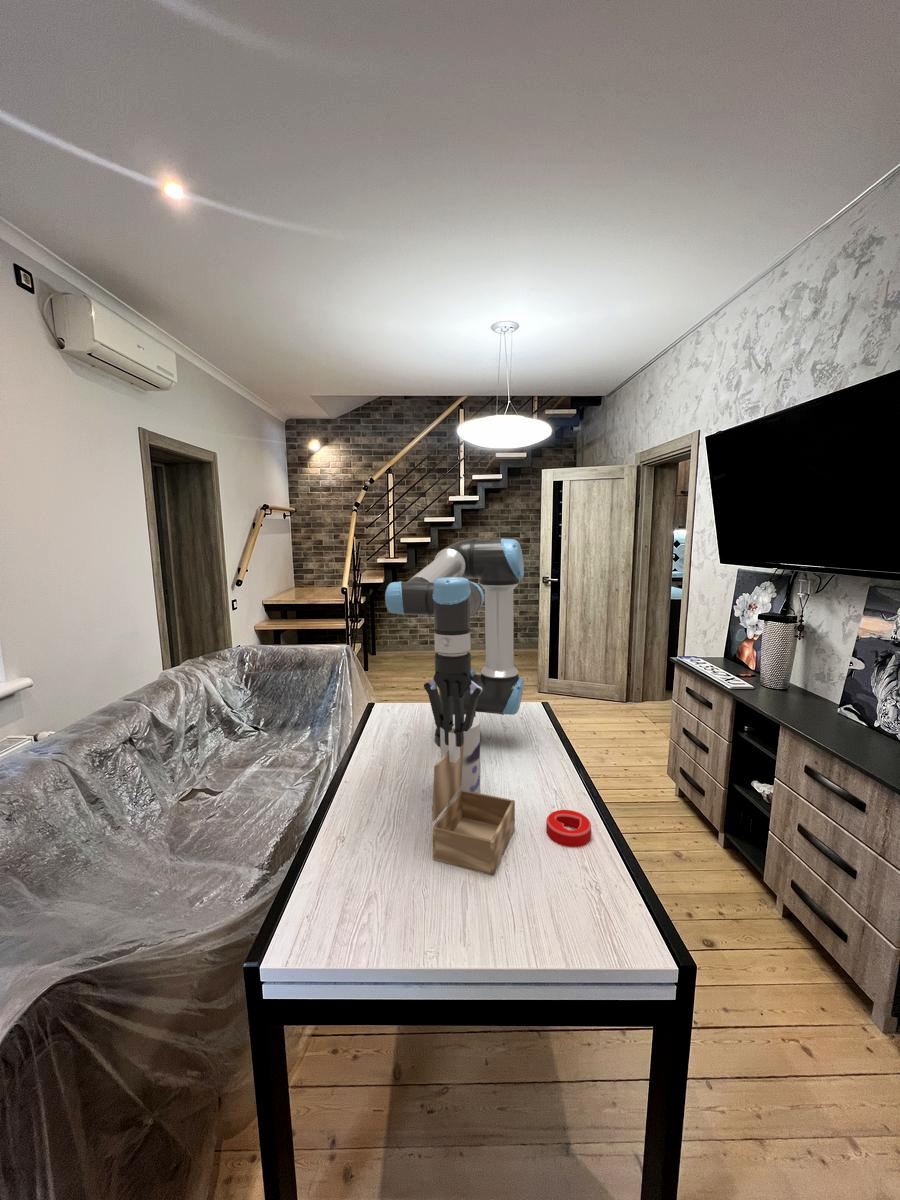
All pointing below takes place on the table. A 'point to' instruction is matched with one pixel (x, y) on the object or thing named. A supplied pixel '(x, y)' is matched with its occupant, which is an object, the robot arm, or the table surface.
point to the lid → (446, 782)
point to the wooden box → (474, 831)
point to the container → (467, 757)
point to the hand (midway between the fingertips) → (454, 759)
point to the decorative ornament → (563, 835)
